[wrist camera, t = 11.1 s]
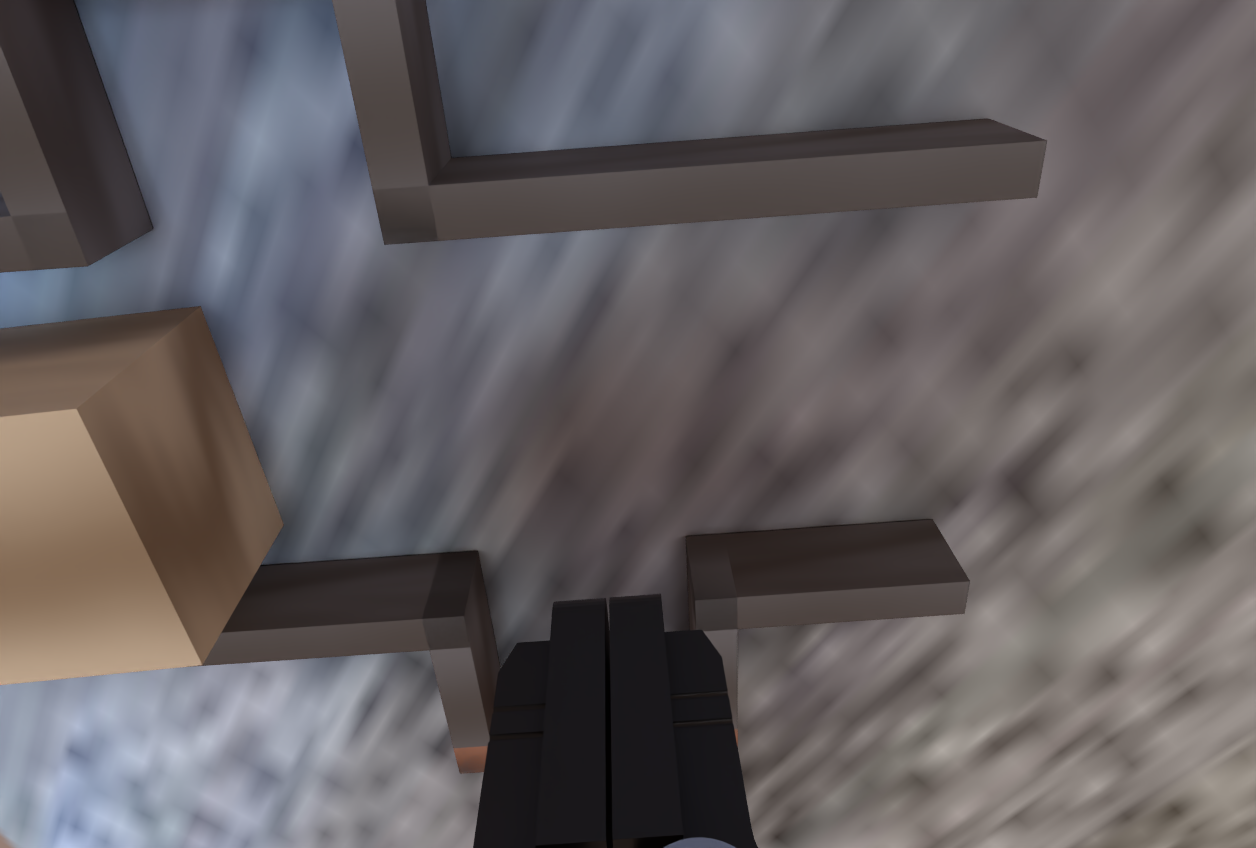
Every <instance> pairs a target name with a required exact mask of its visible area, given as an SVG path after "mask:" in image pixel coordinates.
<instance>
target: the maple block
mask: <svg viewBox="0 0 1256 848" xmlns="http://www.w3.org/2000/svg"><path fill="white" fill-rule="evenodd" d="M283 525H284V524H283V522H282V519H281V516H280V514H279V511H278V508H277V506H276V503H275V501H274V498H273V495H272V493H271V490H270V487H269V485H268V482H267V480H266V477H265V474H264V472H263V469H262V466H261V464H260V461H259V459H258V456H257V453H256V451H255V448H254V446H253V443H252V440H251V438H250V435H249V432H248V430H247V427H246V425H245V422H244V419H243V417H242V414H241V411H240V409H239V406H238V404H237V401H236V398H235V396H234V393H233V390H232V388H231V385H230V383H229V380H228V377H227V375H226V372H225V369H224V367H223V364H222V362H221V359H220V356H219V354H218V351H217V348H216V346H215V343H214V341H213V338H212V335H211V333H210V330H209V327H208V325H207V322H206V320H205V317H204V314H203V312H202V309H201V306H198V307H189V308H180V309H171V310H162V311H153V312H144V313H135V314H126V315H117V316H108V317H100V318H91V319H82V320H73V321H64V322H55V323H46V324H37V325H28V326H19V327H10V328H1V329H0V685H6V684H16V683H26V682H36V681H46V680H56V679H67V678H77V677H87V676H97V675H107V674H117V673H127V672H138V671H148V670H158V669H168V668H178V667H188V666H198V665H203V663H204V661H205V660H206V658H207V656H208V655H209V653H210V651H211V649H212V648H213V646H214V644H215V642H216V641H217V639H218V637H219V636H220V634H221V632H222V630H223V629H224V627H225V625H226V624H227V622H228V620H229V618H230V617H231V615H232V613H233V611H234V610H235V608H236V606H237V605H238V603H239V601H240V599H241V598H242V596H243V594H244V592H245V591H246V589H247V587H248V586H249V584H250V582H251V580H252V579H253V577H254V575H255V573H256V572H257V570H258V568H259V567H260V565H261V563H262V561H263V560H264V558H265V556H266V555H267V553H268V551H269V549H270V548H271V546H272V544H273V542H274V541H275V539H276V537H277V536H278V534H279V532H280V530H281V529H282V527H283Z"/></svg>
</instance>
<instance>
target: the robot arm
mask: <svg viewBox="0 0 1256 848" xmlns="http://www.w3.org/2000/svg"><path fill="white" fill-rule="evenodd" d="M609 613H610V630H609V621H608V611H607V603H606V598H601V599H587V600H573V601H559V602H554V604H553V610H552V623H551V636H550V641H537V642H523V643H517V644H516V646H515V647H514V649H513V651H512V652H511V654H510V655H509V657H508V658H507V660H506V661H505V663H504V665H503V666H502V668H501V669H500V671H499V672H498V677H497V684H496V691H495V698H494V705H493V709H494V712H493V714H492V719H491V726H490V733H489V737H490V740H489V742H488V747H487V754H486V761H485V768H484V775H483V782H482V789H481V796H480V803H479V810H478V818H477V825H476V832H475V839H474V846H473V848H758V847H757V845H756V842H755V840H754V836H753V832H752V829H751V823H750V817H749V811H748V805H747V800H746V794H745V788H744V782H743V776H742V770H741V765H740V759H739V753H738V747H737V741H736V736H735V730H734V725H733V720H732V712H731V707H730V701H729V697H728V689H727V683H726V677H725V672H724V666H723V660H722V656H721V655H720V654H719V652H718V651H717V650H716V648H715V647H714V645H713V644H712V643H711V641H710V640H709V639H708V637H707V636H706V635H705V633H704V632H703V630H688V631H674V632H664V622H663V612H662V601H661V594H653V595H639V596H625V597H611V598H610V600H609Z"/></svg>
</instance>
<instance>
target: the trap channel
mask: <svg viewBox="0 0 1256 848" xmlns="http://www.w3.org/2000/svg"><path fill="white" fill-rule="evenodd" d="M332 2H333V7H334V11H335V16H336V21H337V25H338V30H339V35H340V39H341V44H342V49H343V53H344V58H345V63H346V67H347V72H348V77H349V81H350V86H351V91H352V95H353V100H354V105H355V110H356V114H357V119H358V124H359V128H360V133H361V138H362V142H363V147H364V152H365V156H366V161H367V166H368V170H369V175H370V180H371V184H372V189H373V194H374V198H375V203H376V208H377V213H378V217H379V222H380V227H381V231H382V236H383V241H384V245H388V244H402V243H415V242H429V241H443V240H457V239H471V238H484V237H498V236H512V235H526V234H540V233H553V232H567V231H581V230H595V229H609V228H623V227H636V226H650V225H664V224H678V223H692V222H705V221H719V220H733V219H747V218H761V217H775V216H788V215H802V214H816V213H830V212H844V211H857V210H871V209H885V208H899V207H913V206H926V205H940V204H954V203H968V202H982V201H996V200H1009V199H1023V198H1037V196H1038V190H1039V184H1040V179H1041V173H1042V167H1043V161H1044V156H1045V150H1046V144H1047V140H1044V139H1042V138H1039V137H1036V136H1034V135H1031V134H1028V133H1026V132H1023V131H1020V130H1018V129H1015V128H1012V127H1010V126H1007V125H1004V124H1002V123H999V122H996V121H994V120H991V119H977V120H963V121H950V122H936V123H922V124H909V125H895V126H881V127H868V128H854V129H840V130H827V131H813V132H799V133H786V134H772V135H758V136H745V137H731V138H718V139H704V140H690V141H677V142H663V143H649V144H636V145H622V146H608V147H595V148H581V149H567V150H554V151H540V152H526V153H513V154H499V155H485V156H472V157H458V158H451V153H450V147H449V141H448V135H447V129H446V123H445V117H444V111H443V105H442V99H441V93H440V86H439V80H438V74H437V68H436V62H435V56H434V50H433V44H432V38H431V32H430V26H429V20H428V14H427V8H426V1H425V0H332ZM152 229H153V227H152V224H151V222H150V219H149V216H148V213H147V210H146V207H145V204H144V202H143V199H142V196H141V193H140V190H139V187H138V184H137V182H136V179H135V176H134V173H133V170H132V167H131V164H130V162H129V159H128V156H127V153H126V150H125V147H124V144H123V142H122V139H121V136H120V133H119V130H118V127H117V124H116V122H115V119H114V116H113V113H112V110H111V107H110V104H109V102H108V99H107V96H106V93H105V90H104V87H103V84H102V82H101V79H100V76H99V73H98V70H97V67H96V64H95V62H94V59H93V56H92V53H91V50H90V47H89V44H88V41H87V39H86V36H85V33H84V30H83V27H82V24H81V21H80V19H79V16H78V13H77V10H76V7H75V4H74V1H73V0H0V273H1V272H15V271H29V270H42V269H56V268H70V267H84V266H89V265H91V264H93V263H94V262H96V261H98V260H100V259H102V258H103V257H105V256H107V255H109V254H110V253H112V252H114V251H116V250H117V249H119V248H121V247H123V246H124V245H126V244H128V243H130V242H131V241H133V240H135V239H137V238H138V237H140V236H142V235H144V234H145V233H147V232H149V231H151V230H152ZM686 554H687V580H688V606H689V630H703V632H704V633H705V635H706V636H707V637H708V639H709V640H710V641H711V643H712V644H713V645H714V647H715V648H716V650H717V651H718V652H719V654H720V655H721V656H722V660H723V666H724V672H725V677H726V683H727V689H728V697H729V701H730V707H731V712H732V720H733V725H734V730H735V736H736V741H737V747H738V707H737V629H748V628H762V627H777V626H791V625H806V624H821V623H835V622H850V621H865V620H879V619H894V618H908V617H923V616H938V615H952V614H964V613H965V608H966V602H967V596H968V590H969V585H970V580H969V579H968V577H967V576H966V574H965V572H964V571H963V569H962V567H961V566H960V564H959V562H958V561H957V559H956V557H955V556H954V554H953V552H952V551H951V549H950V547H949V546H948V544H947V542H946V541H945V539H944V537H943V536H942V534H941V532H940V531H939V529H938V527H937V526H936V524H935V523H934V521H933V520H919V521H904V522H890V523H875V524H861V525H846V526H832V527H817V528H803V529H789V530H774V531H760V532H745V533H731V534H716V535H702V536H688V537H686ZM426 650H430V654H431V658H432V663H433V667H434V671H435V675H436V679H437V683H438V687H439V691H440V695H441V699H442V703H443V707H444V711H445V715H446V719H447V723H448V727H449V731H450V735H451V739H452V744H453V748H454V752H455V756H456V760H457V764H458V768H459V772H460V774H462V773H477V772H484V768H485V761H486V754H487V747H488V742H489V740H490V737H489V733H490V726H491V719H492V714H493V712H494V709H493V705H494V698H495V691H496V684H497V677H498V672H499V671H500V669H501V668H500V663H499V658H498V653H497V648H496V643H495V637H494V632H493V627H492V622H491V617H490V611H489V606H488V601H487V596H486V591H485V586H484V580H483V575H482V570H481V565H480V560H479V554H478V551H471V552H457V553H442V554H428V555H413V556H399V557H385V558H370V559H356V560H341V561H327V562H312V563H298V564H284V565H269V566H260V567H259V568H258V570H257V572H256V573H255V575H254V577H253V579H252V580H251V582H250V584H249V586H248V587H247V589H246V591H245V592H244V594H243V596H242V598H241V599H240V601H239V603H238V605H237V606H236V608H235V610H234V611H233V613H232V615H231V617H230V618H229V620H228V622H227V624H226V625H225V627H224V629H223V630H222V632H221V634H220V636H219V637H218V639H217V641H216V642H215V644H214V646H213V648H212V649H211V651H210V653H209V655H208V656H207V658H206V660H205V661H204V663H203V665H198V666H206V665H221V664H235V663H250V662H265V661H279V660H294V659H309V658H323V657H338V656H352V655H367V654H382V653H396V652H411V651H426ZM188 667H191V666H188Z"/></svg>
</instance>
